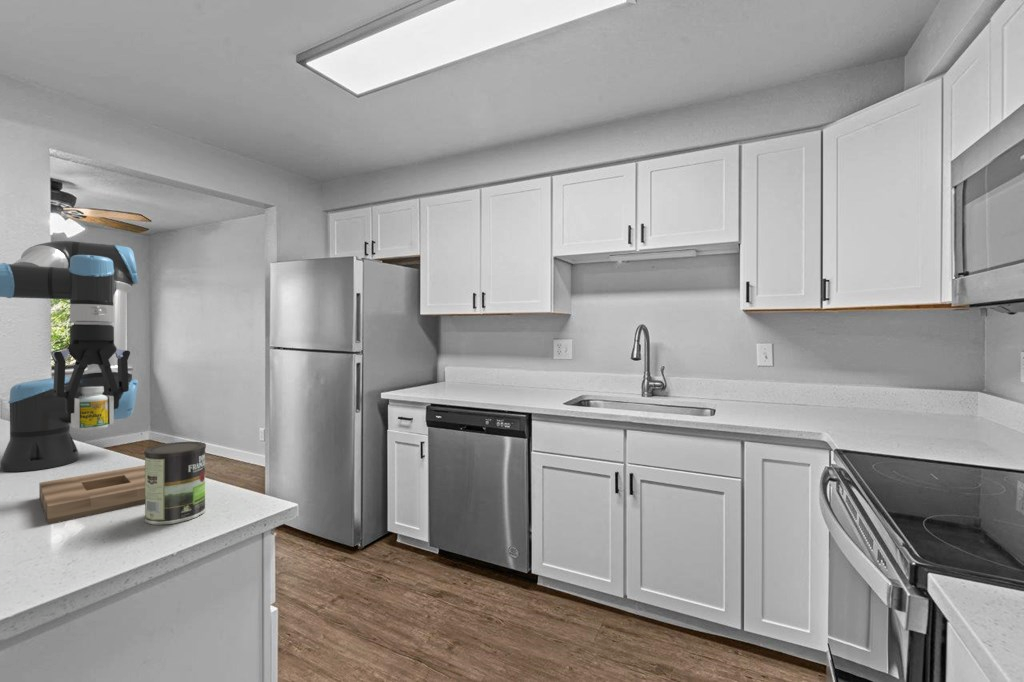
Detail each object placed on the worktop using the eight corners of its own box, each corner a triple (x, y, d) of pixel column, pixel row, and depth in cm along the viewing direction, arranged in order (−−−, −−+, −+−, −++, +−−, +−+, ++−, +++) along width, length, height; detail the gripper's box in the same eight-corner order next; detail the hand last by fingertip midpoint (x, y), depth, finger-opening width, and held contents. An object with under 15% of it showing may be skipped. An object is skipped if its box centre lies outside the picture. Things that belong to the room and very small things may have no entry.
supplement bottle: (110, 425, 112) (110, 385, 112) (105, 429, 107) (105, 387, 107) (79, 428, 109) (79, 386, 109) (74, 431, 104) (74, 388, 104)
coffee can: (214, 504, 103) (214, 440, 103) (190, 524, 93) (190, 452, 93) (162, 506, 101) (162, 441, 101) (132, 526, 91) (132, 454, 91)
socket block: (39, 498, 105) (39, 482, 105) (150, 478, 120) (150, 464, 120) (47, 524, 92) (47, 506, 91) (172, 497, 107) (171, 482, 106)
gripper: (42, 322, 98) (42, 434, 98) (147, 324, 114) (147, 421, 114) (31, 323, 102) (31, 430, 102) (134, 325, 118) (134, 418, 118)
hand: (92, 425), depth 108 cm, fingers closed on supplement bottle, 5 cm apart
